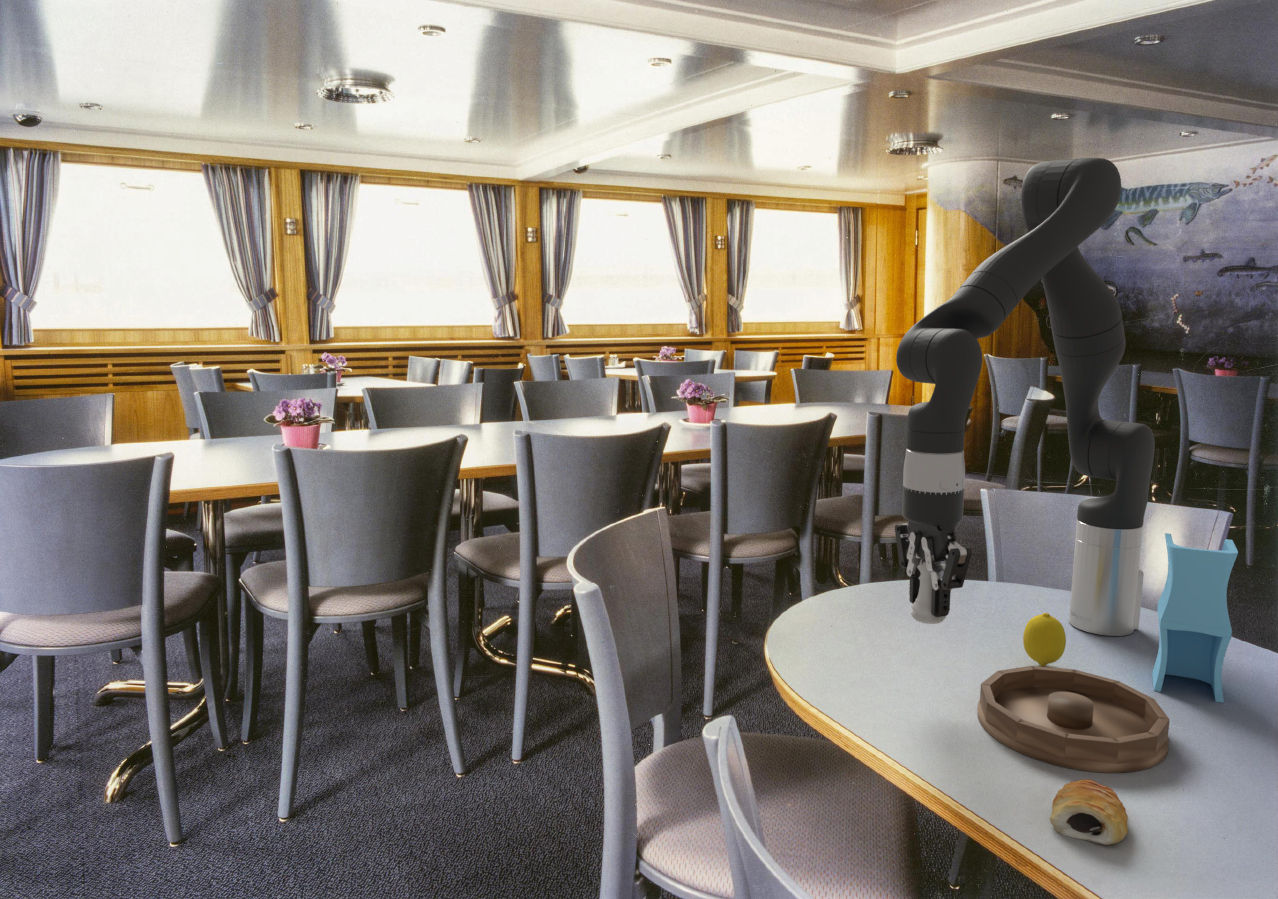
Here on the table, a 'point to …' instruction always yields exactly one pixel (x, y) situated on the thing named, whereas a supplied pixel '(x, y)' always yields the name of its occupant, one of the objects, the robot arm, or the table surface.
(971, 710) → the table surface
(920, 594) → the rook chess piece
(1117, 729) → the ring tray
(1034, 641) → the lemon
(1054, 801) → the pastry
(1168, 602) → the blue wavy stand
